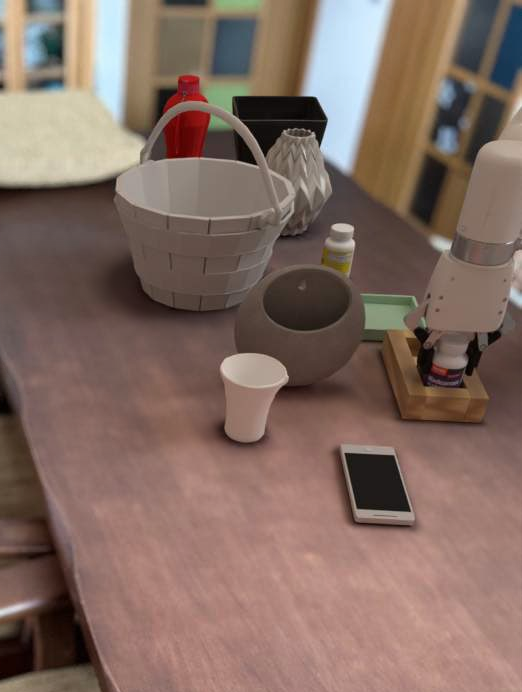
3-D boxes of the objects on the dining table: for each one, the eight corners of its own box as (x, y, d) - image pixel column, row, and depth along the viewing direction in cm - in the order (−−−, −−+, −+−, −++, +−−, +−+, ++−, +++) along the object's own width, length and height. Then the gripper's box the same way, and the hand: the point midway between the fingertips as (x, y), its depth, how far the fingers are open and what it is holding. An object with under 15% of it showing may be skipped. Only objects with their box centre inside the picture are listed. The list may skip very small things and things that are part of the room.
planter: (229, 395, 122) (243, 273, 109) (226, 370, 127) (240, 252, 114) (354, 399, 121) (383, 278, 109) (347, 374, 126) (374, 256, 114)
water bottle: (151, 210, 177) (156, 80, 160) (168, 194, 184) (175, 68, 168) (191, 217, 174) (201, 86, 157) (207, 200, 182) (218, 73, 165)
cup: (265, 457, 110) (276, 392, 104) (202, 437, 114) (208, 373, 107) (288, 425, 116) (300, 362, 109) (228, 406, 119) (235, 344, 113)
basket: (198, 235, 167) (211, 69, 147) (328, 299, 146) (364, 115, 126) (72, 272, 153) (68, 94, 133) (196, 348, 132) (213, 150, 112)
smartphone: (392, 451, 111) (393, 445, 111) (414, 525, 100) (416, 519, 99) (338, 448, 112) (340, 443, 111) (354, 522, 100) (356, 516, 100)
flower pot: (229, 200, 182) (237, 117, 171) (224, 172, 196) (231, 94, 185) (315, 202, 181) (329, 120, 170) (304, 174, 196) (316, 96, 184)
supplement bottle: (324, 271, 155) (333, 219, 148) (351, 278, 153) (363, 225, 146) (313, 282, 151) (323, 229, 145) (342, 289, 149) (353, 235, 143)
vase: (238, 238, 166) (249, 140, 154) (254, 210, 178) (265, 117, 165) (319, 249, 162) (336, 149, 150) (329, 220, 174) (347, 125, 162)
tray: (411, 306, 144) (414, 295, 143) (427, 343, 134) (430, 331, 133) (312, 301, 145) (314, 291, 144) (320, 337, 135) (323, 326, 134)
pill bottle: (417, 405, 120) (434, 345, 113) (416, 386, 124) (433, 327, 117) (455, 410, 119) (475, 350, 112) (453, 391, 123) (473, 332, 116)
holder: (450, 355, 132) (457, 332, 129) (480, 422, 117) (489, 398, 114) (380, 351, 132) (386, 328, 129) (402, 418, 118) (409, 394, 115)
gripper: (541, 237, 108) (498, 359, 121) (409, 233, 109) (380, 354, 121) (559, 261, 103) (512, 386, 115) (420, 256, 104) (388, 381, 116)
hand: (445, 369), depth 118 cm, fingers closed on pill bottle, 5 cm apart
